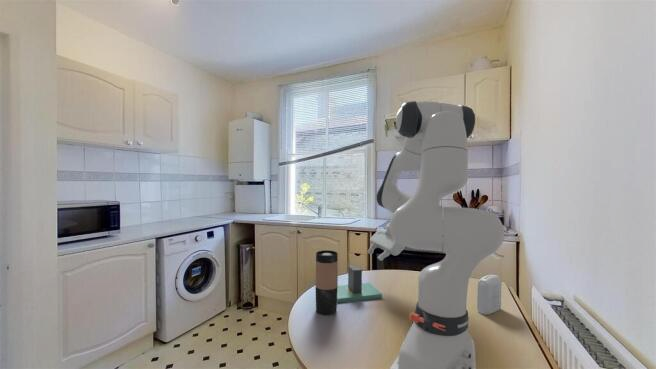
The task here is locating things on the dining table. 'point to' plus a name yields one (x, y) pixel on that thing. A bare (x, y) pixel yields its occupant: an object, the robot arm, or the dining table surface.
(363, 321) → the dining table surface
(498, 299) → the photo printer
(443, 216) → the robot arm
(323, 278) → the travel mug
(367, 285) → the teal plate
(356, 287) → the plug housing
